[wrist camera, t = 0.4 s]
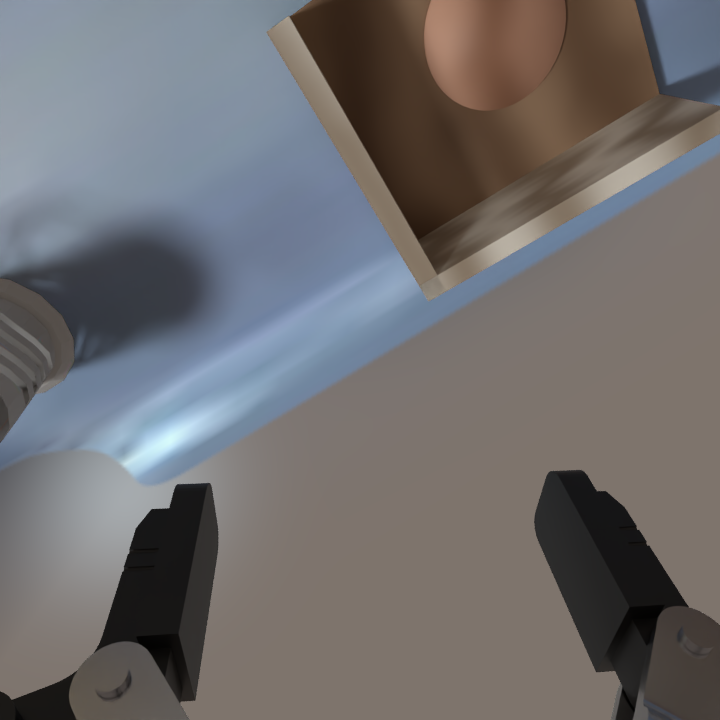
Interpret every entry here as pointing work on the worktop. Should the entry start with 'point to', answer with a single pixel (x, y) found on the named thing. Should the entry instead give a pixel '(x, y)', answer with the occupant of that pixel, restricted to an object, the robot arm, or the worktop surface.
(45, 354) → the french press
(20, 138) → the worktop surface
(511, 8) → the wooden l-shaped piece
